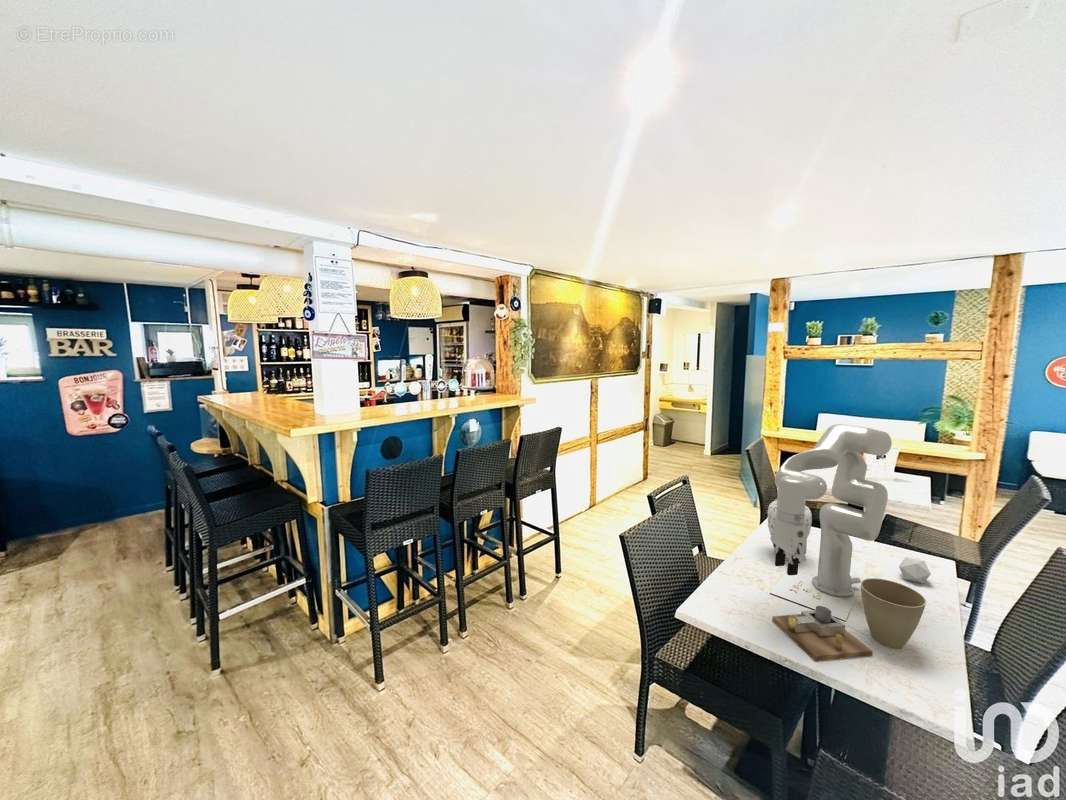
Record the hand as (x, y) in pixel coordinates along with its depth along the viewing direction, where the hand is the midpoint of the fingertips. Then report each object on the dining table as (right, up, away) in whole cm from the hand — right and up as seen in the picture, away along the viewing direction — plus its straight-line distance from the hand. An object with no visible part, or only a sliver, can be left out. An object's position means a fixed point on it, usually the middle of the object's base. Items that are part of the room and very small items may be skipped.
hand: (785, 569), depth 135 cm
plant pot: (+26, -19, -8) cm, 33 cm away
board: (+7, -18, -6) cm, 20 cm away
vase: (+27, -12, +44) cm, 53 cm away
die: (+64, -15, +26) cm, 71 cm away
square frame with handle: (+5, -16, -4) cm, 18 cm away
